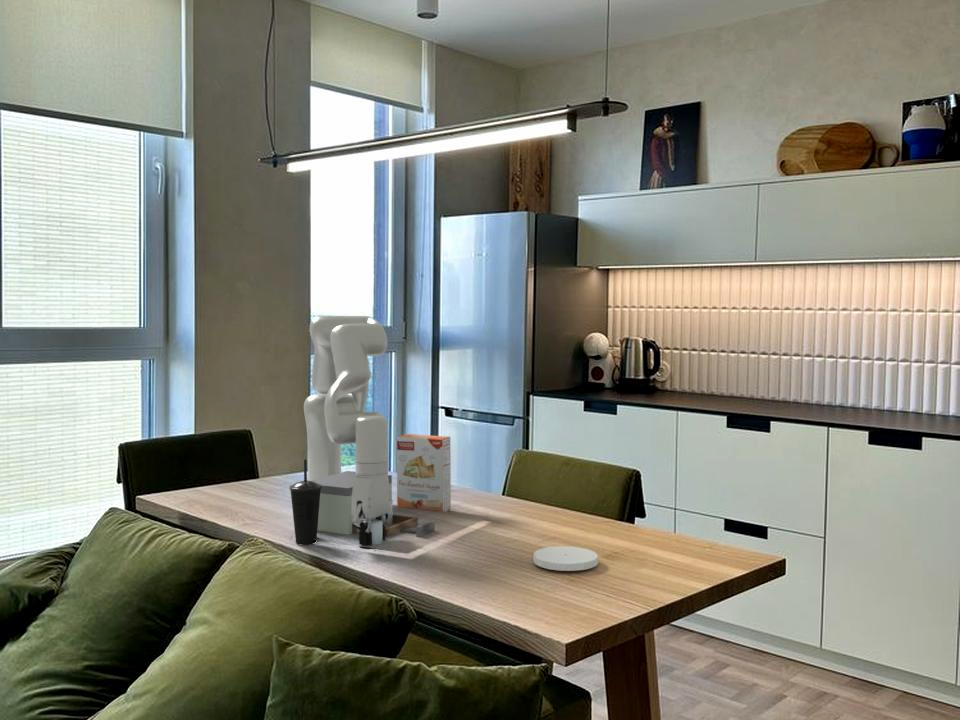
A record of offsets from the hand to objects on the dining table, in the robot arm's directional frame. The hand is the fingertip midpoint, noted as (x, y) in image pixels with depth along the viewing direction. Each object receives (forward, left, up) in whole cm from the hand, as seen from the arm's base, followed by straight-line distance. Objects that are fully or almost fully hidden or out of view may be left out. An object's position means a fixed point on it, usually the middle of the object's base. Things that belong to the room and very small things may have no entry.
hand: (372, 544), depth 211 cm
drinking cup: (+4, -16, -1) cm, 17 cm away
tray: (-13, -2, 0) cm, 13 cm away
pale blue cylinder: (0, 0, 0) cm, 0 cm away
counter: (-13, -10, 0) cm, 16 cm away
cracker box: (-38, -9, -1) cm, 39 cm away
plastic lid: (-7, +46, -1) cm, 46 cm away
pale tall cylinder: (-16, -8, +1) cm, 17 cm away
